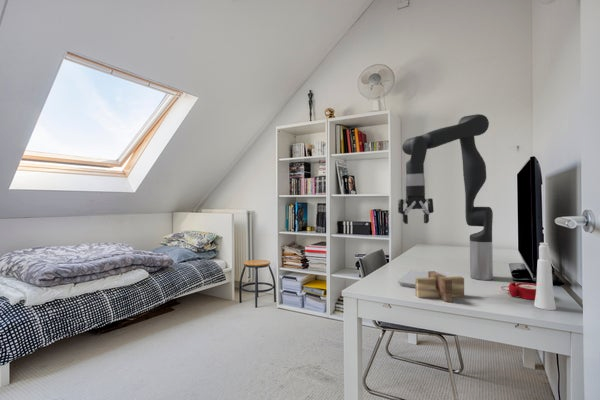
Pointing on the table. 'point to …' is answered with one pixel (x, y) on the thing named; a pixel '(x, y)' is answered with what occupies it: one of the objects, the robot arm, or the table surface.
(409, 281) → the tablet
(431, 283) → the oak slotted rail
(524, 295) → the alarm clock
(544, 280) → the cosmetic bottle
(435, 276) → the walnut cross plate
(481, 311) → the table surface
